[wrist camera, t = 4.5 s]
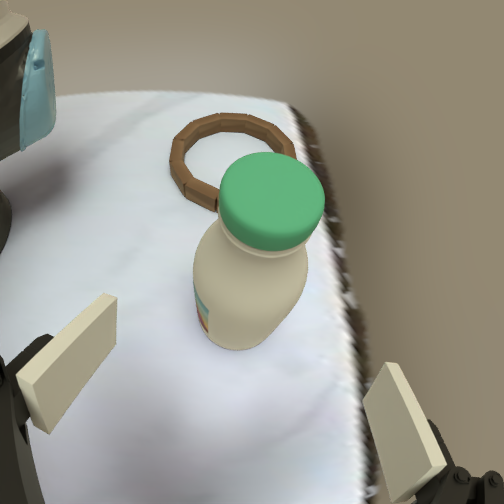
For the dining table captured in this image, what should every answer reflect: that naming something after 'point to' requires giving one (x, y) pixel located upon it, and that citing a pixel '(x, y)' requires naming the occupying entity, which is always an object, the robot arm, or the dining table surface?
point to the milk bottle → (256, 249)
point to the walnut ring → (211, 125)
